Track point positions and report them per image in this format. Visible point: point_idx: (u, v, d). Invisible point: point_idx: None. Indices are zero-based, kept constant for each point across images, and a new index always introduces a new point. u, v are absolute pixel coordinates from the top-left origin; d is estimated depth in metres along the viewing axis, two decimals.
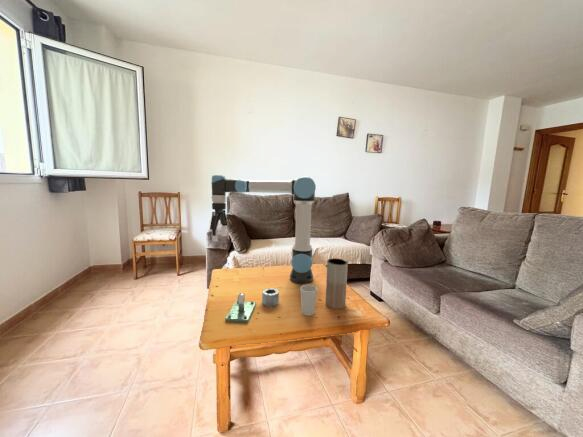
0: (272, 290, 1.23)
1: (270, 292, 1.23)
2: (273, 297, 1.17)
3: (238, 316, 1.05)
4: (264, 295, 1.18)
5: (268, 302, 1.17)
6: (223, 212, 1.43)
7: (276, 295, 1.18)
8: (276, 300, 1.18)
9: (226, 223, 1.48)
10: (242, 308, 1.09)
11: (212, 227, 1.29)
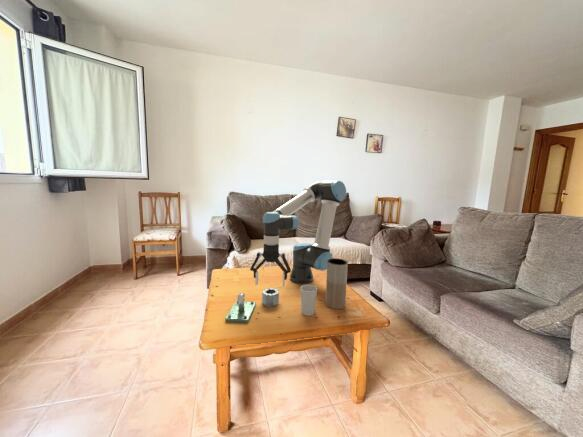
0: (272, 290, 1.23)
1: (270, 292, 1.23)
2: (273, 297, 1.17)
3: (238, 316, 1.05)
4: (264, 295, 1.18)
5: (268, 302, 1.17)
6: (281, 256, 1.17)
7: (276, 295, 1.18)
8: (276, 300, 1.18)
9: (288, 271, 1.17)
10: (242, 308, 1.09)
11: None
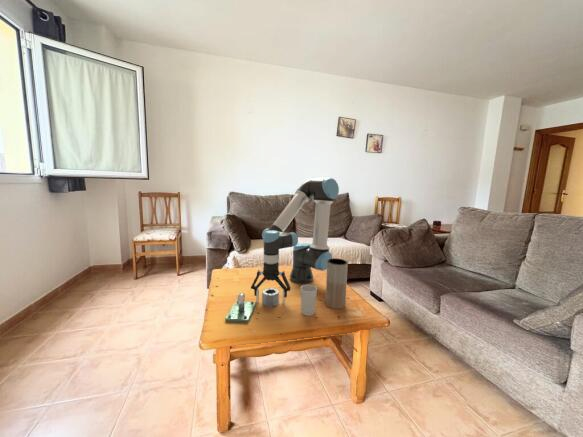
0: (272, 290, 1.23)
1: (270, 292, 1.23)
2: (273, 297, 1.17)
3: (238, 316, 1.05)
4: (264, 295, 1.18)
5: (268, 302, 1.17)
6: (281, 275, 1.18)
7: (276, 295, 1.18)
8: (276, 300, 1.18)
9: (288, 289, 1.18)
10: (242, 308, 1.09)
11: (251, 286, 1.20)
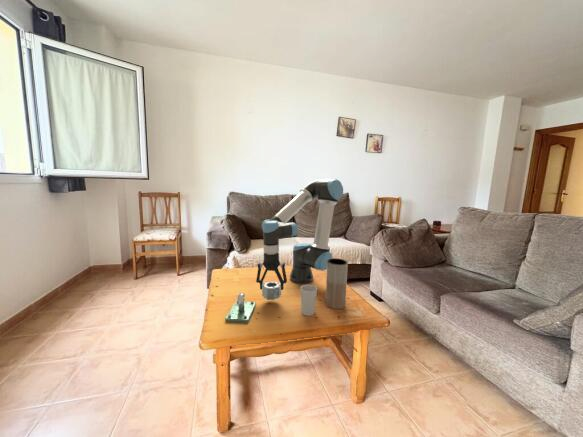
0: (273, 283, 1.23)
1: (271, 285, 1.23)
2: (274, 290, 1.17)
3: (238, 316, 1.05)
4: (265, 288, 1.18)
5: (269, 295, 1.17)
6: (281, 266, 1.18)
7: (277, 288, 1.18)
8: (277, 293, 1.18)
9: (284, 282, 1.18)
10: (242, 308, 1.09)
11: None
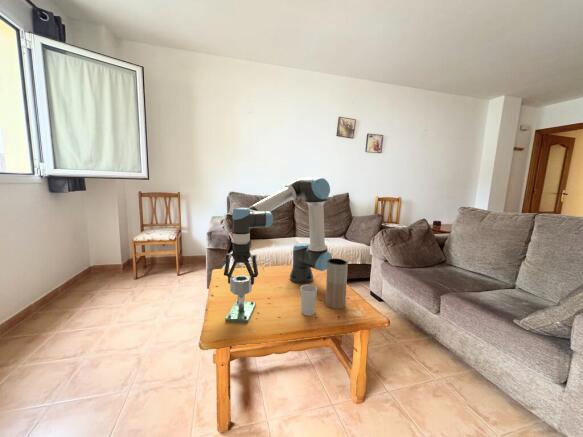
0: (243, 277, 1.11)
1: (241, 279, 1.11)
2: (243, 284, 1.05)
3: (238, 316, 1.05)
4: (233, 282, 1.06)
5: (237, 290, 1.05)
6: (251, 258, 1.06)
7: (246, 282, 1.06)
8: (246, 288, 1.06)
9: (254, 275, 1.07)
10: (242, 308, 1.09)
11: None
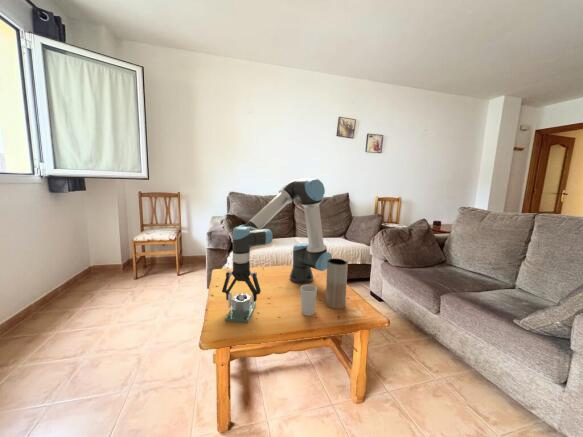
0: None
1: None
2: (243, 304, 1.06)
3: (238, 316, 1.05)
4: (234, 301, 1.07)
5: (238, 309, 1.06)
6: (252, 276, 1.08)
7: (247, 301, 1.07)
8: (247, 307, 1.08)
9: (257, 293, 1.08)
10: None
11: (223, 289, 1.10)
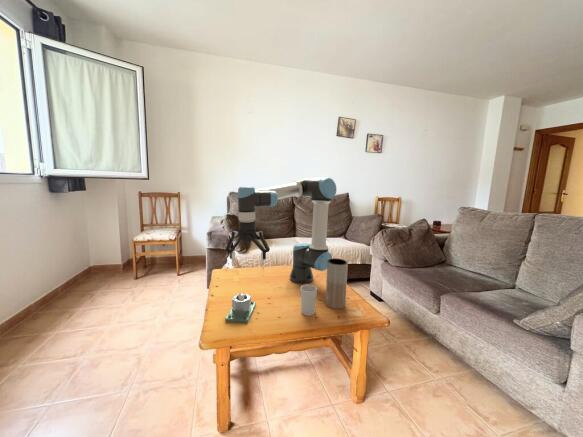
0: None
1: None
2: (243, 304, 1.06)
3: (238, 316, 1.05)
4: (234, 301, 1.07)
5: (238, 309, 1.06)
6: (258, 235, 1.08)
7: (247, 301, 1.07)
8: (247, 307, 1.08)
9: (266, 250, 1.08)
10: None
11: None
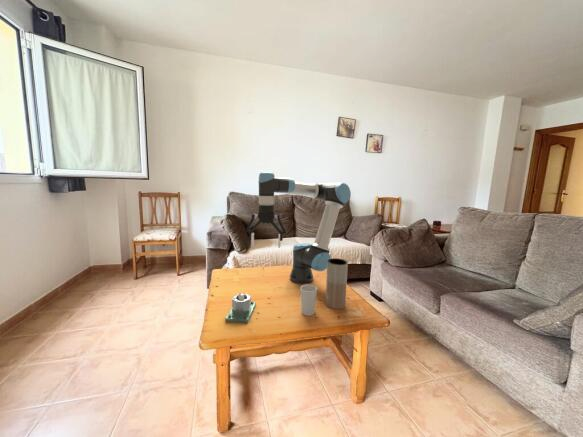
0: None
1: None
2: (243, 304, 1.06)
3: (238, 316, 1.05)
4: (234, 301, 1.07)
5: (238, 309, 1.06)
6: (276, 217, 1.17)
7: (247, 301, 1.07)
8: (247, 307, 1.08)
9: (283, 232, 1.17)
10: None
11: None
